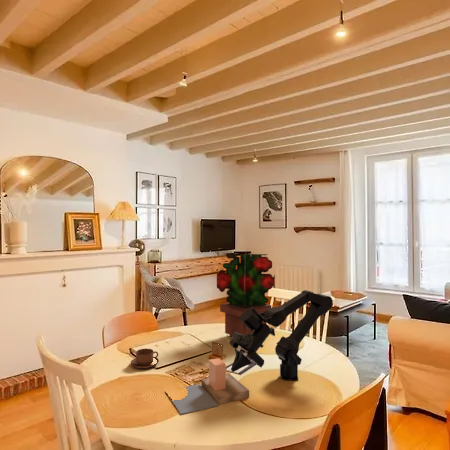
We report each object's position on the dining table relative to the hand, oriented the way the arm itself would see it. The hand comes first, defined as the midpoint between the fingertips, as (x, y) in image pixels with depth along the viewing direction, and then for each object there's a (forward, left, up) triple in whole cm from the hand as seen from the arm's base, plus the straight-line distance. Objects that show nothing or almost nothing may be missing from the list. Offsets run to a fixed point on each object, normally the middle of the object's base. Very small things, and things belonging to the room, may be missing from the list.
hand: (231, 370), depth 140 cm
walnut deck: (+3, +2, -7) cm, 8 cm away
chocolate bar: (-3, -24, -8) cm, 25 cm away
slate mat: (+14, +8, -7) cm, 18 cm away
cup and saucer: (+39, -21, -7) cm, 45 cm away
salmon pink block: (+5, +3, -5) cm, 8 cm away
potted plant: (-3, -63, -7) cm, 63 cm away
